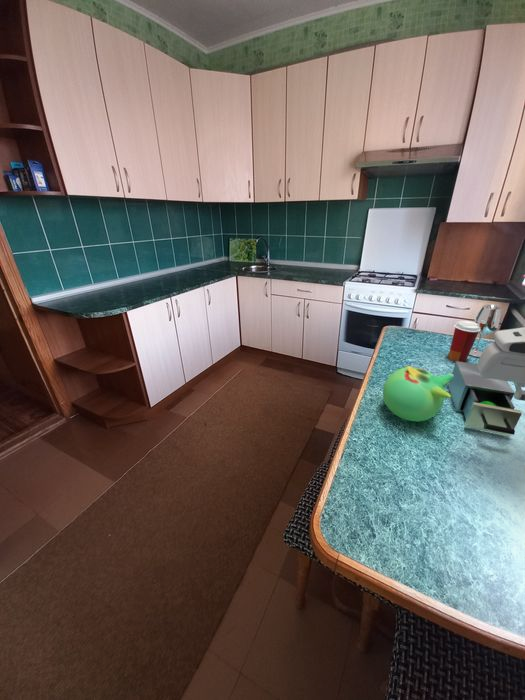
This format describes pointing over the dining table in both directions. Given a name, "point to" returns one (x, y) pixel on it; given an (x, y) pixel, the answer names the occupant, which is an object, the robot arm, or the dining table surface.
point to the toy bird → (415, 393)
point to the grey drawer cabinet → (473, 383)
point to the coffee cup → (463, 340)
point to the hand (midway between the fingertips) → (522, 399)
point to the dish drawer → (490, 412)
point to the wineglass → (486, 324)
